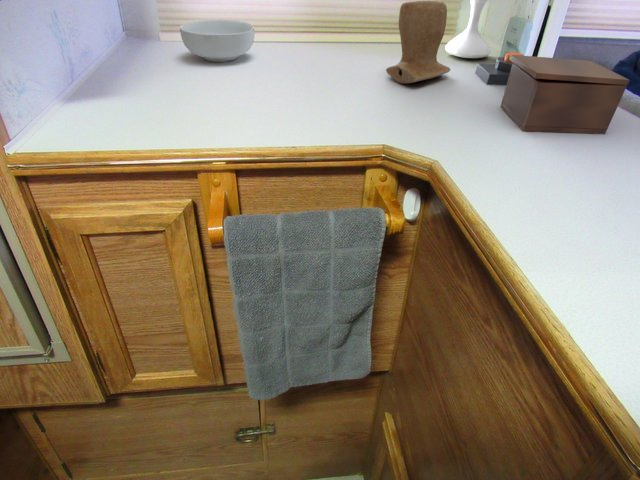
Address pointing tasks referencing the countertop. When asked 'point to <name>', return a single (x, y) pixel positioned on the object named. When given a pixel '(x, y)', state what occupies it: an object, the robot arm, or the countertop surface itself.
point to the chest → (559, 103)
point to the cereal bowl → (217, 39)
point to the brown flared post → (420, 41)
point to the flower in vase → (470, 37)
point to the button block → (494, 72)
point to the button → (509, 56)
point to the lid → (567, 70)
